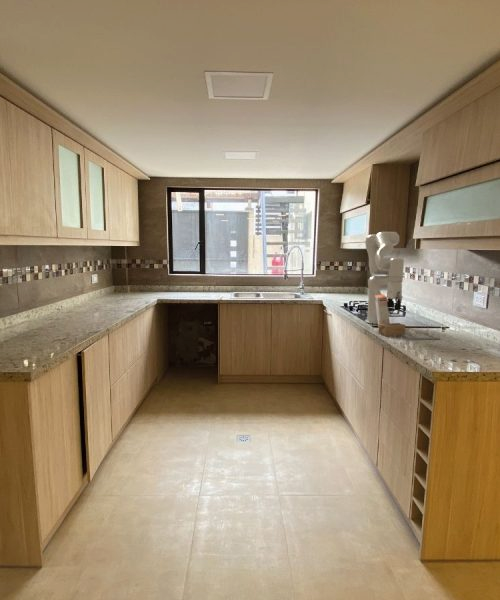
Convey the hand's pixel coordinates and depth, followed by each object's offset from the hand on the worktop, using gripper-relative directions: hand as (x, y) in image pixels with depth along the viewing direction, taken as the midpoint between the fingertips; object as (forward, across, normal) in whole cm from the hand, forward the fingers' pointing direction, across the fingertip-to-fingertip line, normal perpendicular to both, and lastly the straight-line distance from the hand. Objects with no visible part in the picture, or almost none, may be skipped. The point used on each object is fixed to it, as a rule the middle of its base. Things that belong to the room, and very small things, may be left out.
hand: (393, 308), depth 218 cm
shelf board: (+16, -1, 0) cm, 16 cm away
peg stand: (+16, +8, +13) cm, 22 cm away
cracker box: (+15, -14, +1) cm, 20 cm away
